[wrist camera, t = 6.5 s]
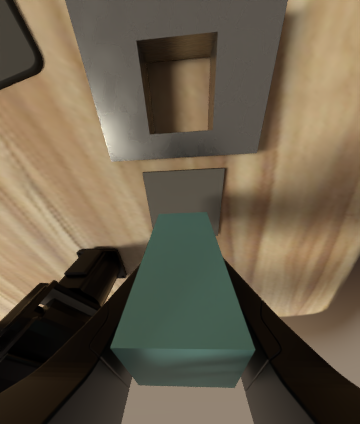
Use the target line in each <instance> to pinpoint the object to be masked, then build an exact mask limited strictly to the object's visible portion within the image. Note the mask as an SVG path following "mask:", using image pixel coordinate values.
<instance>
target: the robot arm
mask: <svg viewBox="0 0 360 424" xmlns="http://www.w3.org/2000/svg"><path fill="white" fill-rule="evenodd" d="M77 255H78V257H79V258H78V259H77V260H76V261H75V262H74V263H73V264H72V266H71V267H70V268H69V269H68V270H67V271H66V272H65V273H64V275H65V276H64V277H63V278H62V279H61V280H60V282H59V283H58V282H57V281H55V280H53V281H52V282H50V283H49V284H48V283H39V284H38V285H37V286H36V287H35V288H34V289H33V290H32V291H31V292H30V293H29V294H28V295H27V296H25V297H24V298H23V299H22V300H21V301H20V302H19V303H18V304H17V305H16V306H15V307H14V308H13V309H12V310H11V311H10V312H9V313H8V314H7V315H6V316H5V317H4V318H3V319H2V320H1V321H0V424H121V422H122V417H123V413H124V409H125V405H126V401H127V397H128V392H129V387H130V384H131V380H132V376H131V374H130V373H129V372H128V370H127V369H126V368H125V367H124V365H123V364H122V363H121V361H120V360H119V359H118V358H117V356H116V355H115V354H114V352H113V351H112V350H111V349H110V347H111V344H112V341H113V339H114V336H115V333H116V330H117V328H118V325H119V322H120V319H121V317H122V314H123V311H124V308H125V306H126V303H127V300H128V297H129V295H130V292H131V289H132V286H133V284H134V281H135V278H136V275H137V273H138V270H139V267H140V265H139V266H138V267H137V268H136V269H135V271H134V272H133V273H132V274H131V275H130V276H129V277H128V278H127V279H126V281H125V282H124V283H123V284H122V285H121V286H120V287H119V288H118V289H117V291H116V292H115V293H114V294H113V295H112V296H111V297H110V298H109V299H108V301H107V302H106V303H105V301H106V299H107V297H108V295H109V293H110V291H111V289H112V287H113V285H114V283H115V281H116V279H117V278H126V276H127V273H126V271H125V268H124V265H123V263H122V260H121V258H120V255H119V252H118V250H116V249H92V250H79V251H78V252H77ZM223 260H224V262H225V265H226V268H227V271H228V274H229V277H230V279H231V282H232V285H233V288H234V291H235V294H236V297H237V299H238V302H239V305H240V308H241V311H242V314H243V316H244V319H245V322H246V325H247V328H248V331H249V333H250V336H251V339H252V342H253V345H254V348H255V351H254V353H253V355H252V357H251V359H250V360H249V362H248V364H247V366H246V368H245V370H244V371H243V373H242V375H241V379H242V382H243V386H244V389H245V392H246V397H247V400H248V404H249V407H250V411H251V415H252V418H253V421H254V424H360V388H359V387H358V386H356V385H355V384H353V383H351V382H350V381H349V380H348V379H346V378H345V377H344V376H342V375H341V374H340V373H339V372H337V371H336V370H335V369H334V368H333V367H331V366H330V365H329V364H328V363H327V362H326V361H325V360H324V359H323V358H322V357H320V356H319V355H318V354H317V353H316V352H315V351H314V350H313V349H312V348H311V347H310V346H309V345H308V344H307V343H305V342H304V341H303V340H302V339H301V338H300V337H299V336H298V335H297V334H296V333H295V332H294V331H293V330H291V328H290V327H288V326H287V325H286V324H285V323H284V322H283V321H282V320H281V319H280V318H279V317H278V316H277V315H276V314H275V313H274V312H273V311H272V310H271V309H270V308H269V306H268V305H267V304H266V303H265V302H264V301H263V300H262V299H261V298H260V297H259V296H258V295H257V294H256V293H255V291H254V290H253V289H252V288H251V287H250V286H249V285H248V284H247V283H246V282H245V281H244V280H243V279H242V277H241V276H240V275H239V274H238V273H237V272H236V271H235V270H234V269H233V268H232V267H231V266H230V265H229V264H228V262H227V261H226V260H225V259H224V258H223ZM104 303H105V304H104ZM39 304H42V305H44V306H43V307H40V306H38V305H39Z"/></svg>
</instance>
